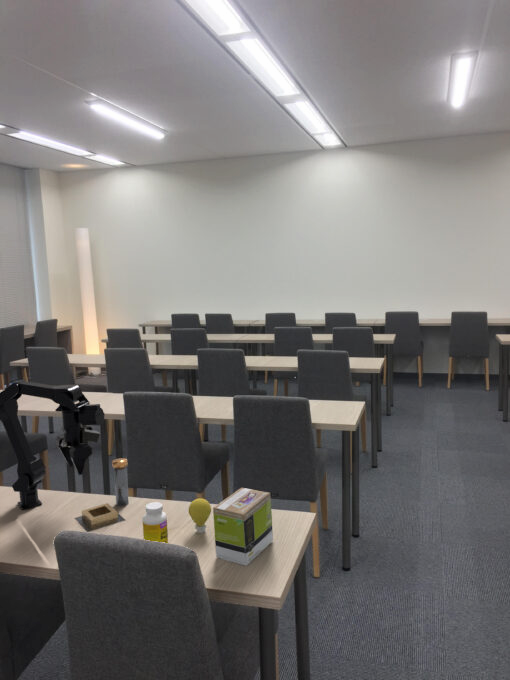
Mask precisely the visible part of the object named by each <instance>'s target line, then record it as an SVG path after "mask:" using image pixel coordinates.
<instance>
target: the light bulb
mask: <svg viewBox="0 0 510 680" xmlns="http://www.w3.org/2000/svg"><path fill="white" fill-rule="evenodd" d="M211 512H212V506H211V504H210V502H209V500H207V499H205V498H195V499H194V500H193V501H192V502H190V504H189V507H188V514H189V516H190V518H191V519H192V521H193V522H194V523H195V526H194V529H195V530H196V533H198V534H203V533H205V531H206V529H207V523H206V522H207V521H208V520H209V517H210V515H211Z"/></svg>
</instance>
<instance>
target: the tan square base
mask: <svg viewBox="0 0 510 680" xmlns="http://www.w3.org/2000/svg"><path fill="white" fill-rule="evenodd" d="M74 519H75V520H76V521H77V522H78V524H80V526H82V527H83V529H84V530H85V531H86V532H87V533H89V532H93V531H96V530H99V529H102V528H106V527H109V526H111V525H115V524H118V523H122V522H124V521H126V519H125V518H124V517H123V516H122V515H121V514H119V512H118V510H116V509H115V508H114V507H112V505H110V504H109V503H104V504H100V505H96V506H94V507H90V508H86V509H83V510H81V515H80V516H77V517H74Z"/></svg>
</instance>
